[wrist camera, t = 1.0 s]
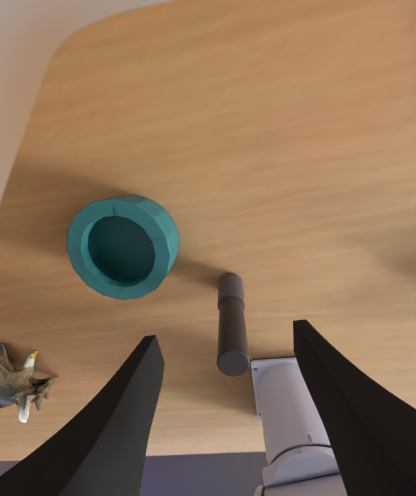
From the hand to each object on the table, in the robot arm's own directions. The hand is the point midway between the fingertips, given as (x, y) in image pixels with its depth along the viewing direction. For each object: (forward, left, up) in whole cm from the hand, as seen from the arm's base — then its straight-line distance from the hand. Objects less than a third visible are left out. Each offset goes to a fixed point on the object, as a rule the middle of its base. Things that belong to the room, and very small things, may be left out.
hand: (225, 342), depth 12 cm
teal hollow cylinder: (+3, +9, -12) cm, 15 cm away
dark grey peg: (-3, 0, -12) cm, 13 cm away
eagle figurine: (-11, +27, -12) cm, 31 cm away
